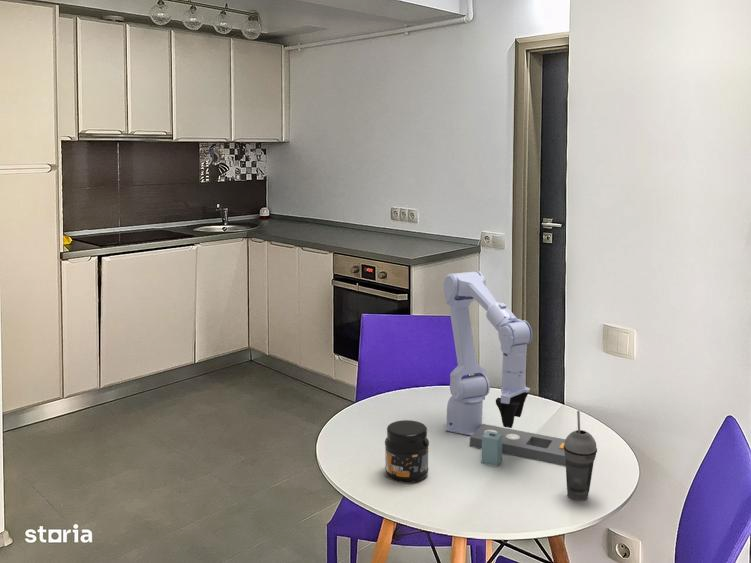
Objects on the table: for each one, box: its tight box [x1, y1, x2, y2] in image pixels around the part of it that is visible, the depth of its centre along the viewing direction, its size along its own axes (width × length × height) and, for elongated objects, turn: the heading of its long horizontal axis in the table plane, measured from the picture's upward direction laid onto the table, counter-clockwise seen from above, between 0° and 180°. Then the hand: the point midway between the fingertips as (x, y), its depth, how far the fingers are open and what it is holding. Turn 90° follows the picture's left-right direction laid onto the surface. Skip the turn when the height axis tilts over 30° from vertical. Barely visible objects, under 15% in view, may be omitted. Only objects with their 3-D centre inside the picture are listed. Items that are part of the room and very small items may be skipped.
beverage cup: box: [564, 410, 598, 502], centre depth 160 cm, size 7×7×20 cm
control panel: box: [469, 423, 566, 467], centre depth 186 cm, size 26×10×3 cm, turn 62°
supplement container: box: [384, 419, 430, 484], centre depth 172 cm, size 10×10×12 cm
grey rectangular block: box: [480, 431, 503, 467], centre depth 179 cm, size 4×4×7 cm
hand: (512, 421), depth 179 cm, fingers open, 7 cm apart
